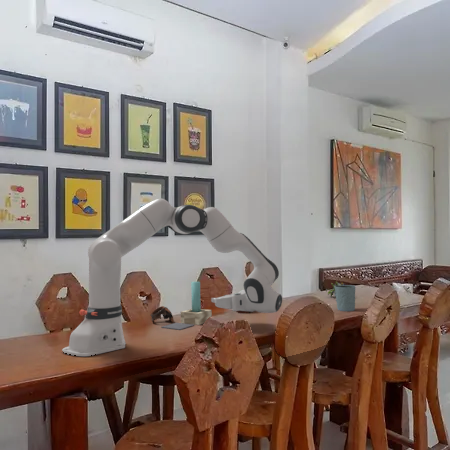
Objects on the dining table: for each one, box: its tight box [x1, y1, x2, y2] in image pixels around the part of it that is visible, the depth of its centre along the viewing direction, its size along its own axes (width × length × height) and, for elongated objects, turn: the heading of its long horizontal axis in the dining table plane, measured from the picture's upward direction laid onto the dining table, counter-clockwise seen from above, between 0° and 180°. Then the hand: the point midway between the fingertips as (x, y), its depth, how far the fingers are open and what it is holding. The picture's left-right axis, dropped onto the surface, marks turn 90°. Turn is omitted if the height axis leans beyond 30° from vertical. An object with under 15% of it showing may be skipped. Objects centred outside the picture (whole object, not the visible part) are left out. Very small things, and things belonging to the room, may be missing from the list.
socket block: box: [180, 308, 213, 326], centre depth 204 cm, size 10×10×5 cm
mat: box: [160, 322, 195, 331], centre depth 194 cm, size 10×10×1 cm
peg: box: [190, 281, 202, 312], centre depth 204 cm, size 4×4×18 cm
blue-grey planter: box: [335, 284, 356, 312], centre depth 228 cm, size 10×10×12 cm
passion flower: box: [325, 281, 346, 298], centre depth 269 cm, size 11×11×12 cm
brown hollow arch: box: [150, 305, 175, 324], centre depth 206 cm, size 12×10×8 cm
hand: (218, 298), depth 197 cm, fingers open, 8 cm apart
